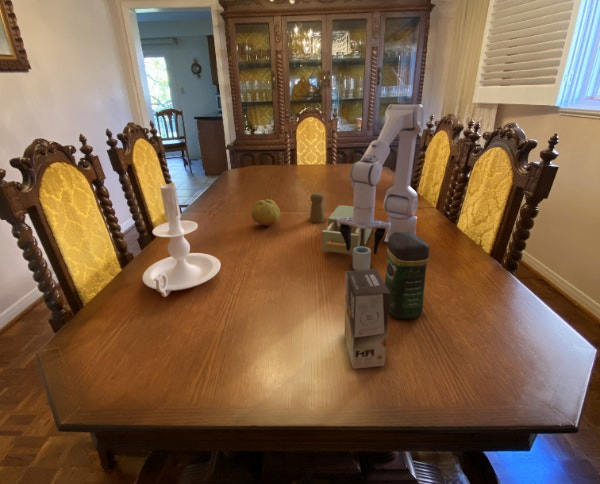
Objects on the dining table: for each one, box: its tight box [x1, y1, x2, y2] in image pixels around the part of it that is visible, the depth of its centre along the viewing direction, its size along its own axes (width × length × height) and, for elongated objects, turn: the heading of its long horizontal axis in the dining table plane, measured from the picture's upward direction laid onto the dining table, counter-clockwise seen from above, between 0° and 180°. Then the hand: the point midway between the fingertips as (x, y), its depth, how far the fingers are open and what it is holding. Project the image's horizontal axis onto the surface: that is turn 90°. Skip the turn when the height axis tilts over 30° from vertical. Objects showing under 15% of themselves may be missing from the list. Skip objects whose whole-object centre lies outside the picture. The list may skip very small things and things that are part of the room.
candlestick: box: [141, 182, 221, 298], centre depth 90 cm, size 21×25×28 cm
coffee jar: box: [384, 231, 430, 320], centre depth 78 cm, size 10×8×19 cm
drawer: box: [321, 221, 363, 256], centre depth 111 cm, size 18×11×7 cm, turn 160°
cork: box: [309, 192, 326, 224], centre depth 136 cm, size 6×6×11 cm
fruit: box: [250, 198, 281, 227], centre depth 132 cm, size 11×12×10 cm
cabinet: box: [327, 204, 373, 247], centre depth 121 cm, size 15×13×8 cm
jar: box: [351, 245, 372, 271], centre depth 100 cm, size 5×5×6 cm
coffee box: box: [343, 268, 390, 369], centre depth 66 cm, size 9×6×16 cm
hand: (361, 251), depth 99 cm, fingers open, 7 cm apart
